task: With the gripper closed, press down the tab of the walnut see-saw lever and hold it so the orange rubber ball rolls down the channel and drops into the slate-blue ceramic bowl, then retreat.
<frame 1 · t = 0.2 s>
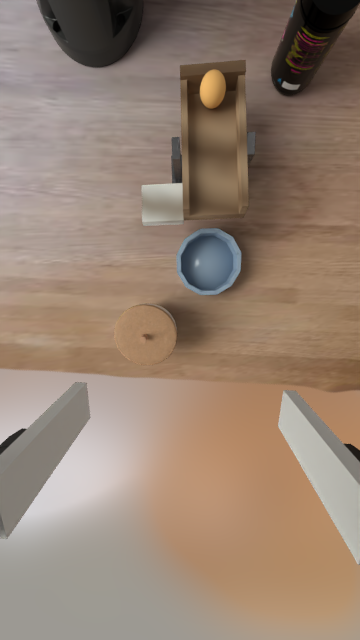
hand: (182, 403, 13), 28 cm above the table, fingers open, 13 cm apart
bowl: (206, 263, 38), on the table
ball: (212, 89, 25), point 8 cm above the table, tilted 20°, touching lever
lever: (191, 147, 26), point 9 cm above the table, hinge at -15.0°, touching ball
supplement container: (290, 72, 31), on the table
lidded jar: (153, 324, 41), on the table
pivot stand: (206, 178, 34), on the table
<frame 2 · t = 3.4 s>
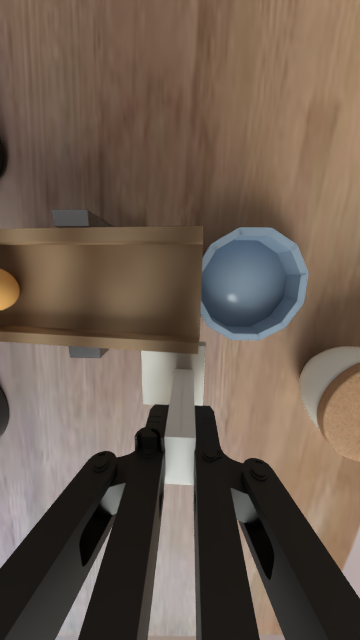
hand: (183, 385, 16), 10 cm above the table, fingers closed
bowl: (240, 285, 23), on the table
lever: (84, 326, 15), point 9 cm above the table, hinge at -5.9°, touching ball, gripper
lidded jar: (324, 372, 26), on the table
pivot stand: (119, 283, 23), on the table
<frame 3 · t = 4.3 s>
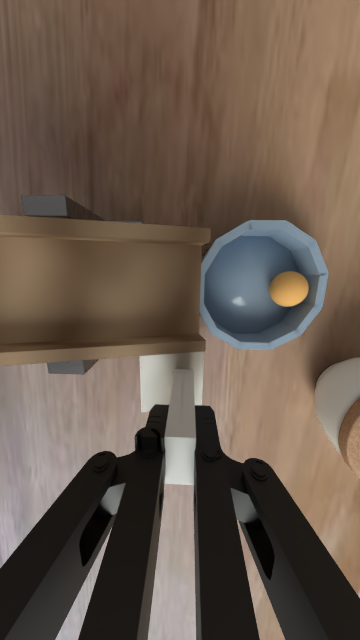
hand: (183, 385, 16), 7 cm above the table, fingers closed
bowl: (248, 286, 20), on the table
ball: (288, 289, 18), point 2 cm above the table, tilted 172°, touching bowl
lever: (71, 336, 13), point 9 cm above the table, hinge at 13.9°, touching gripper
lidded jar: (341, 384, 23), on the table
pivot stand: (111, 284, 21), on the table
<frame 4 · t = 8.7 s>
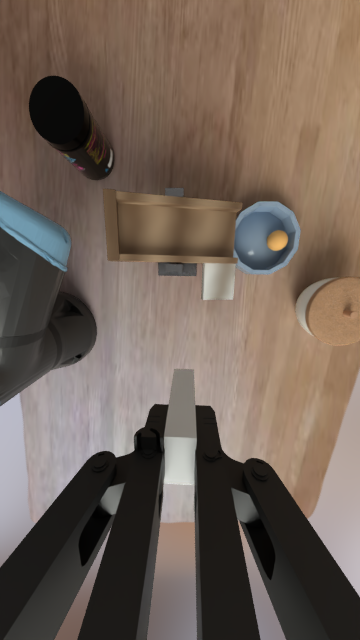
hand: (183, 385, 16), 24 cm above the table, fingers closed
bowl: (257, 242, 36), on the table
ball: (277, 240, 33), point 2 cm above the table, tilted 158°, touching bowl
lever: (177, 253, 28), point 9 cm above the table, hinge at 14.0°
supplement container: (96, 160, 34), on the table
lidded jar: (313, 304, 38), on the table
pivot stand: (177, 241, 36), on the table
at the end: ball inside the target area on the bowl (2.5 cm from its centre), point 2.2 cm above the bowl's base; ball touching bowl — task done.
